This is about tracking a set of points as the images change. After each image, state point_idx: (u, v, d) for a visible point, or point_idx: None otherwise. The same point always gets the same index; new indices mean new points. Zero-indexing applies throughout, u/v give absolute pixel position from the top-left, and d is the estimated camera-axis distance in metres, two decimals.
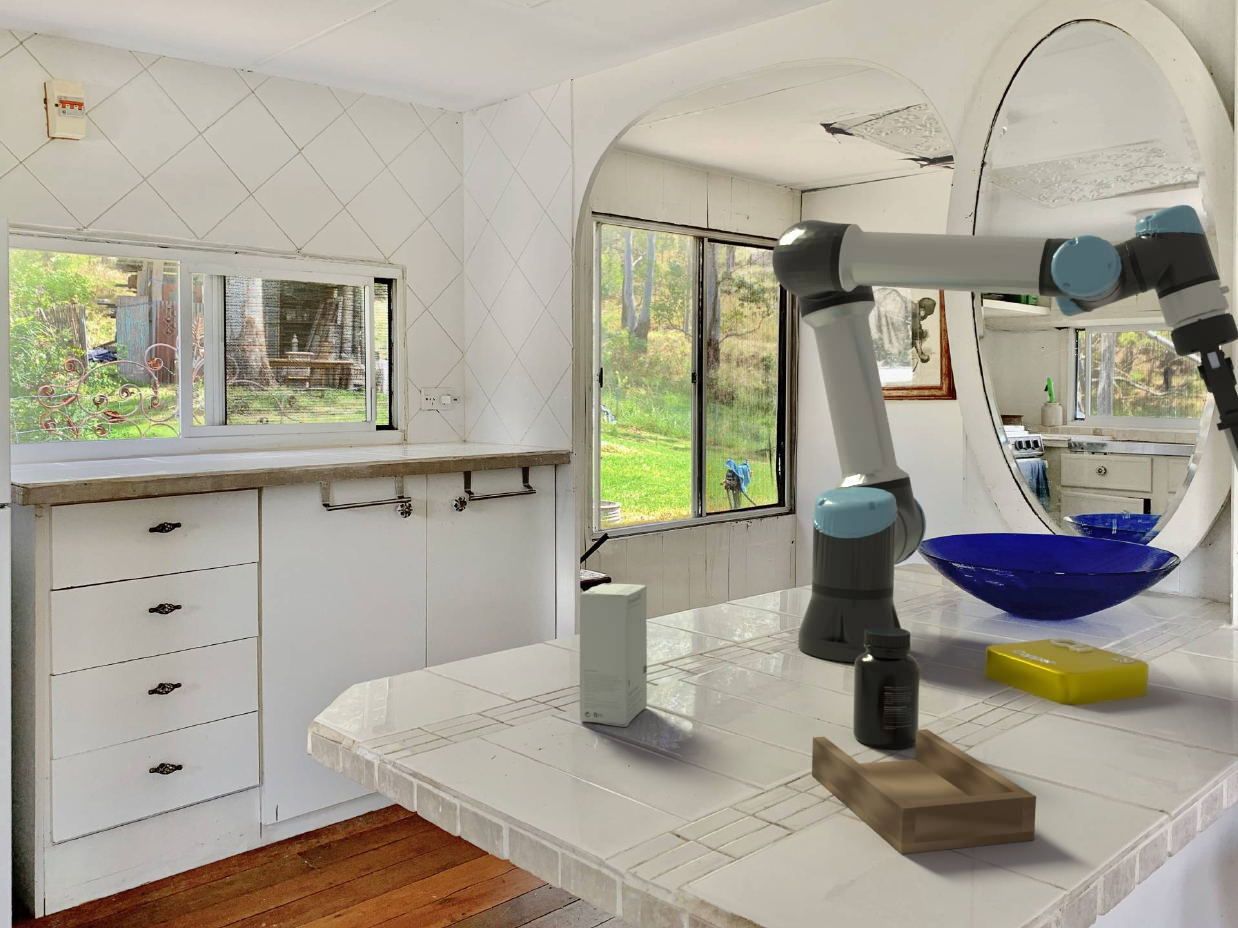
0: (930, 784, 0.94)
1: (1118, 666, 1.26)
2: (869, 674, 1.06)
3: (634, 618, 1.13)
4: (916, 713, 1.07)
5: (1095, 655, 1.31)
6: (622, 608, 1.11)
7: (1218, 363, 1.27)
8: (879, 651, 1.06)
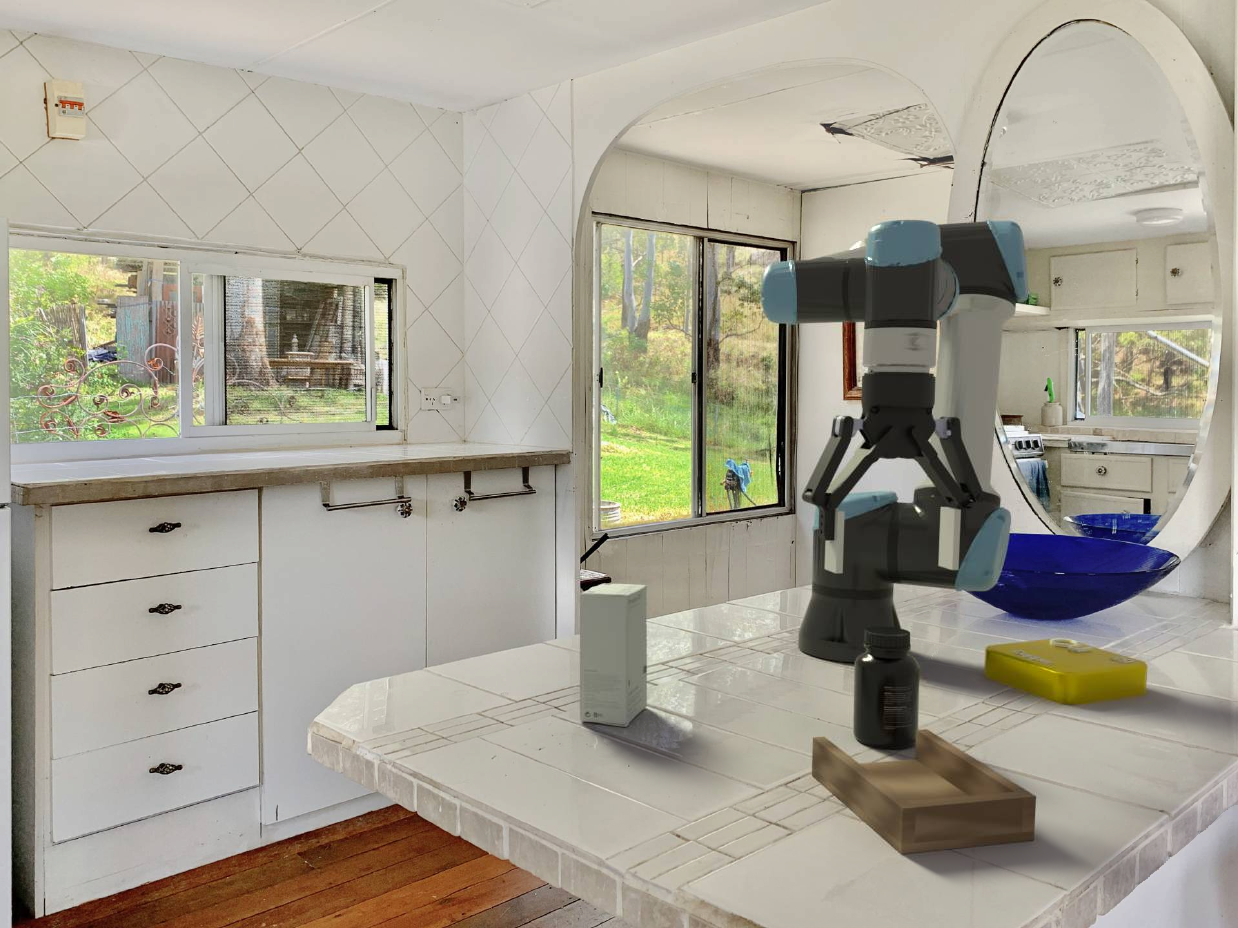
0: (930, 784, 0.94)
1: (1117, 666, 1.26)
2: (869, 674, 1.06)
3: (634, 618, 1.13)
4: (916, 713, 1.07)
5: (1094, 655, 1.31)
6: (622, 608, 1.11)
7: (838, 431, 1.05)
8: (879, 651, 1.06)
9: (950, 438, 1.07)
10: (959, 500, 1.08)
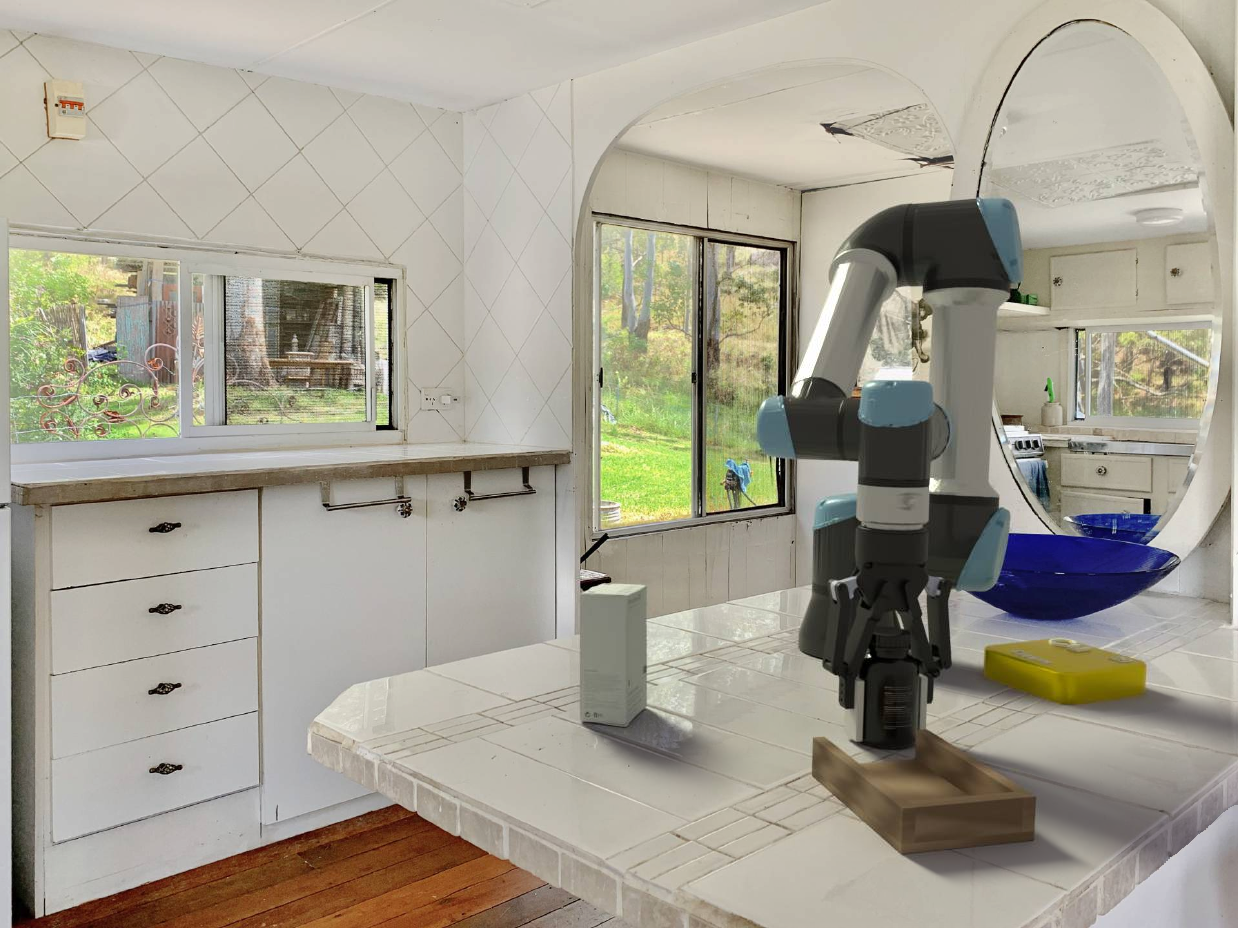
0: (930, 784, 0.94)
1: (1116, 666, 1.26)
2: (869, 674, 1.06)
3: (634, 618, 1.13)
4: (916, 713, 1.07)
5: (1093, 655, 1.31)
6: (622, 608, 1.11)
7: (836, 598, 1.06)
8: (879, 651, 1.06)
9: (937, 598, 1.08)
10: (927, 666, 1.08)
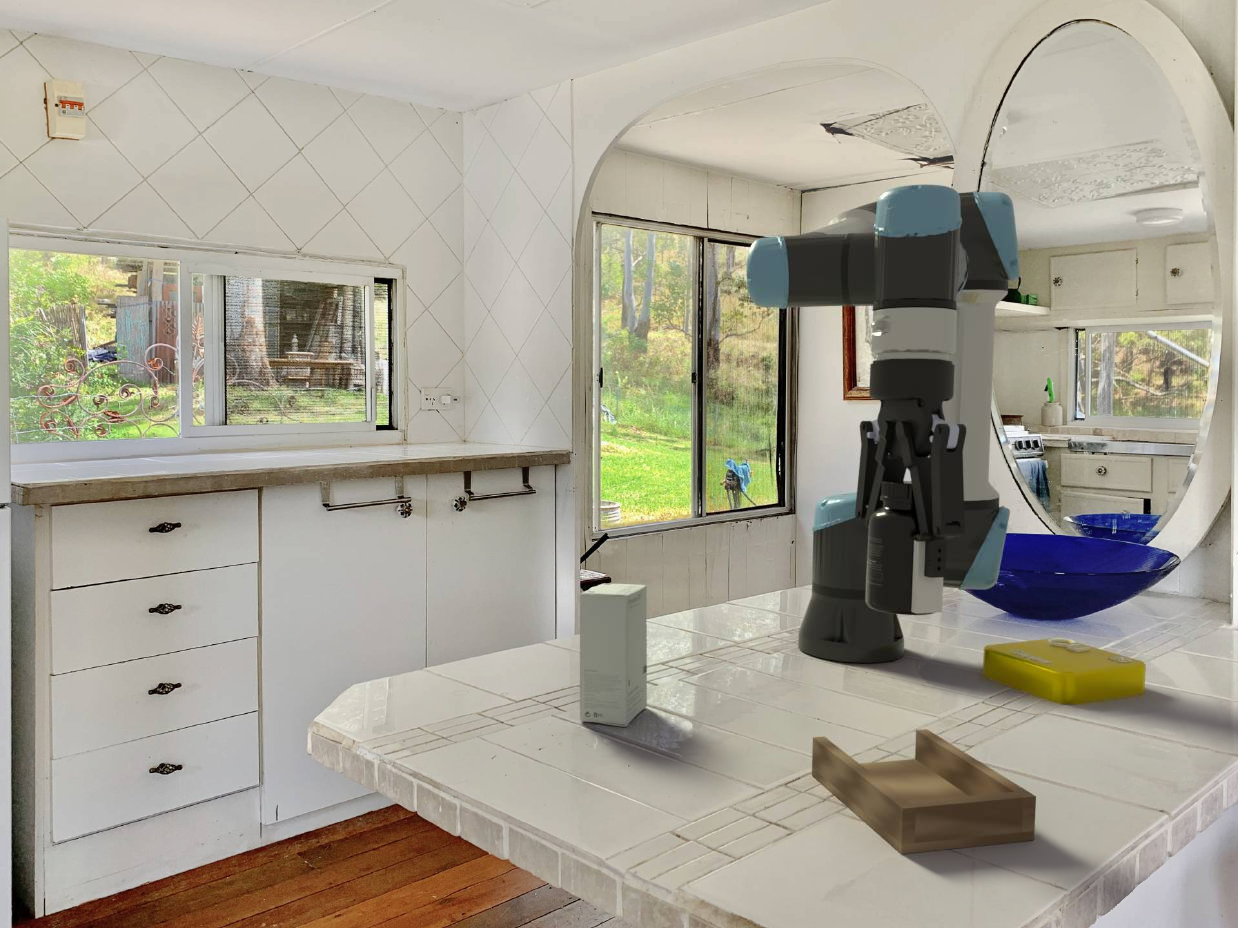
0: (930, 784, 0.94)
1: (1115, 666, 1.26)
2: None
3: (634, 618, 1.13)
4: (893, 576, 0.91)
5: (1092, 655, 1.31)
6: (622, 608, 1.11)
7: None
8: None
9: None
10: (921, 528, 0.89)
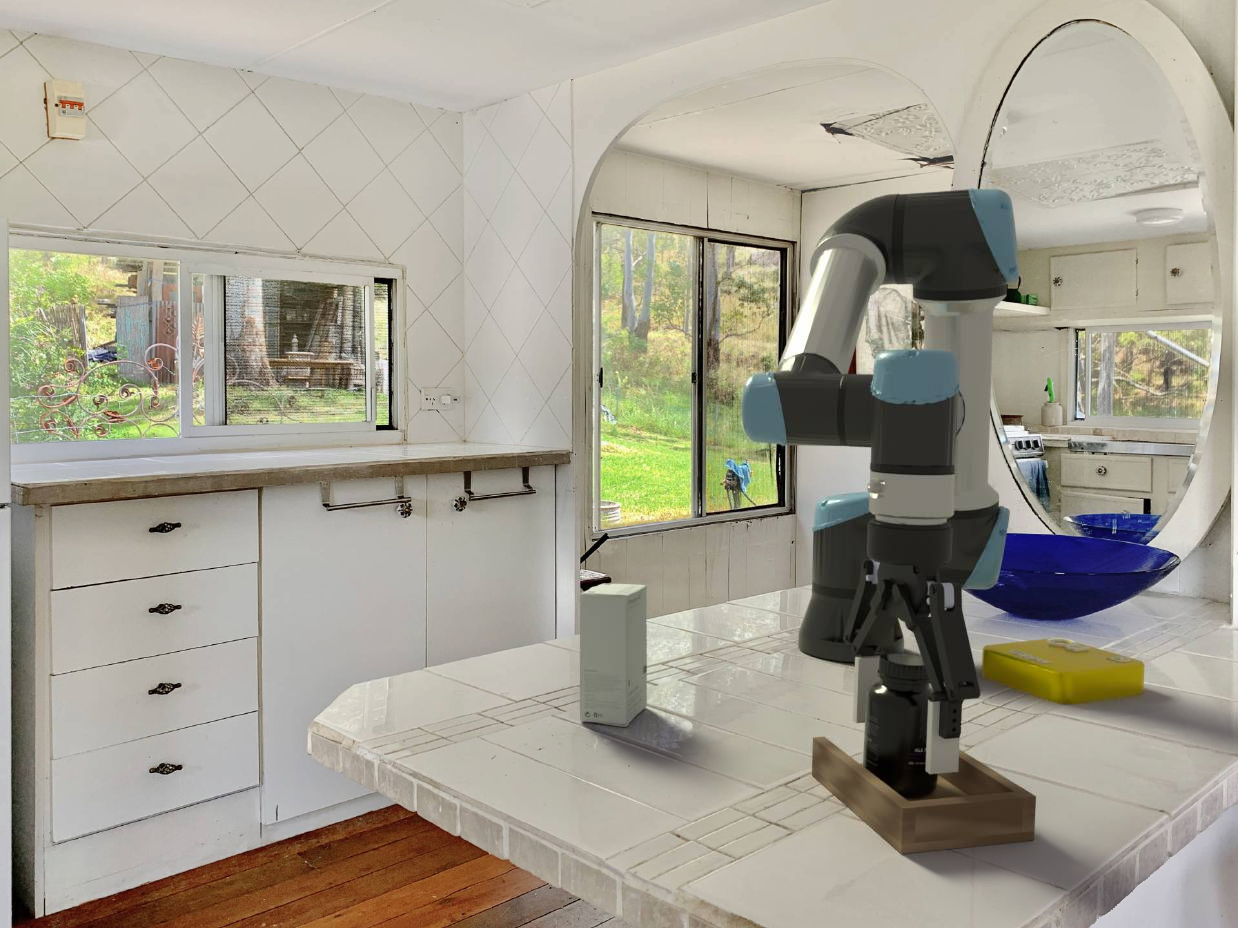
0: None
1: (1114, 665, 1.26)
2: None
3: (634, 618, 1.13)
4: (887, 757, 0.91)
5: (1091, 654, 1.31)
6: (622, 608, 1.11)
7: None
8: None
9: None
10: (934, 688, 0.86)
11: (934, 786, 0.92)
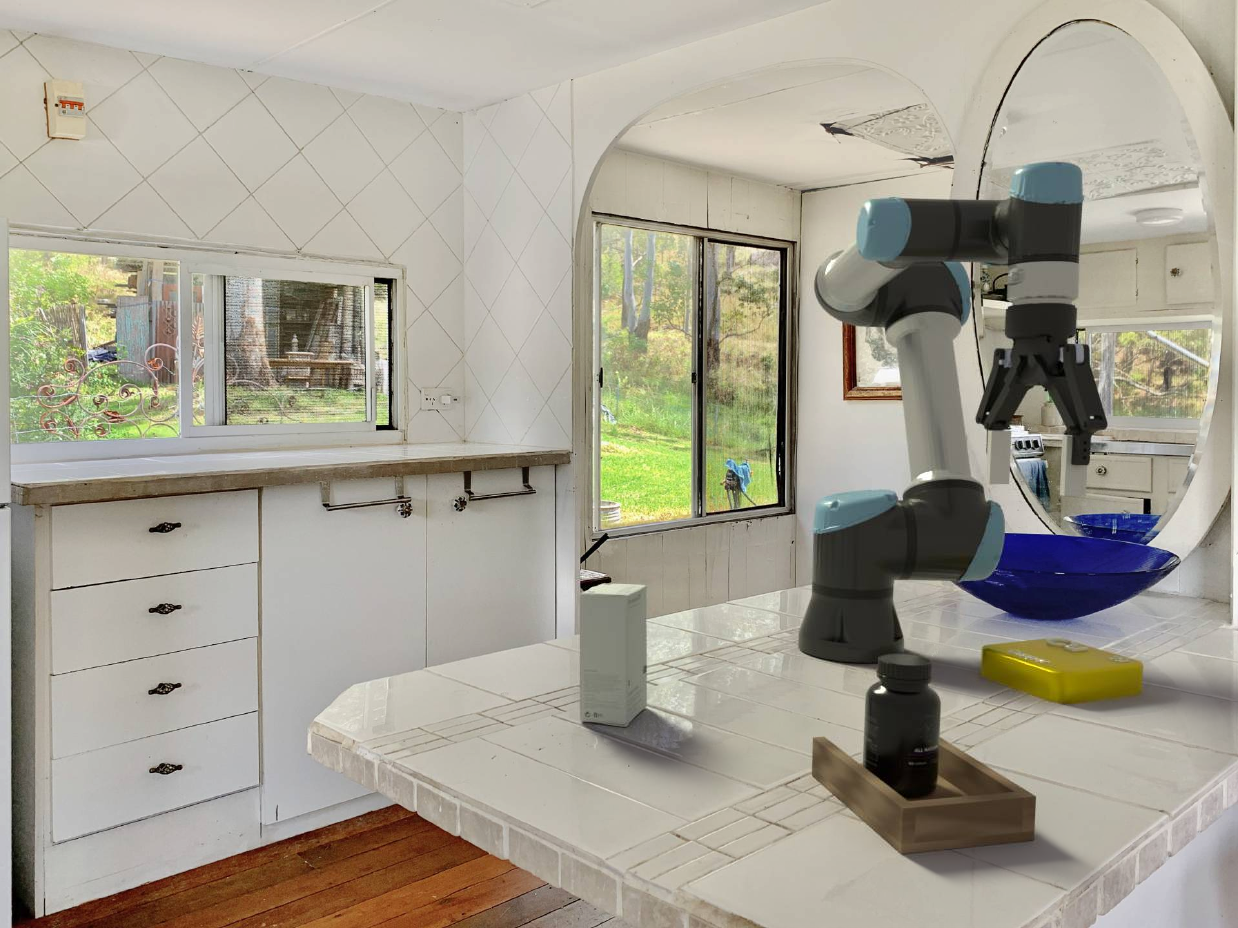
0: None
1: (1113, 665, 1.26)
2: None
3: (634, 618, 1.13)
4: (887, 757, 0.91)
5: (1090, 654, 1.31)
6: (622, 608, 1.11)
7: None
8: None
9: None
10: (1068, 426, 1.08)
11: (934, 786, 0.92)
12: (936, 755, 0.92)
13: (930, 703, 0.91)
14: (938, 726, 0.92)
